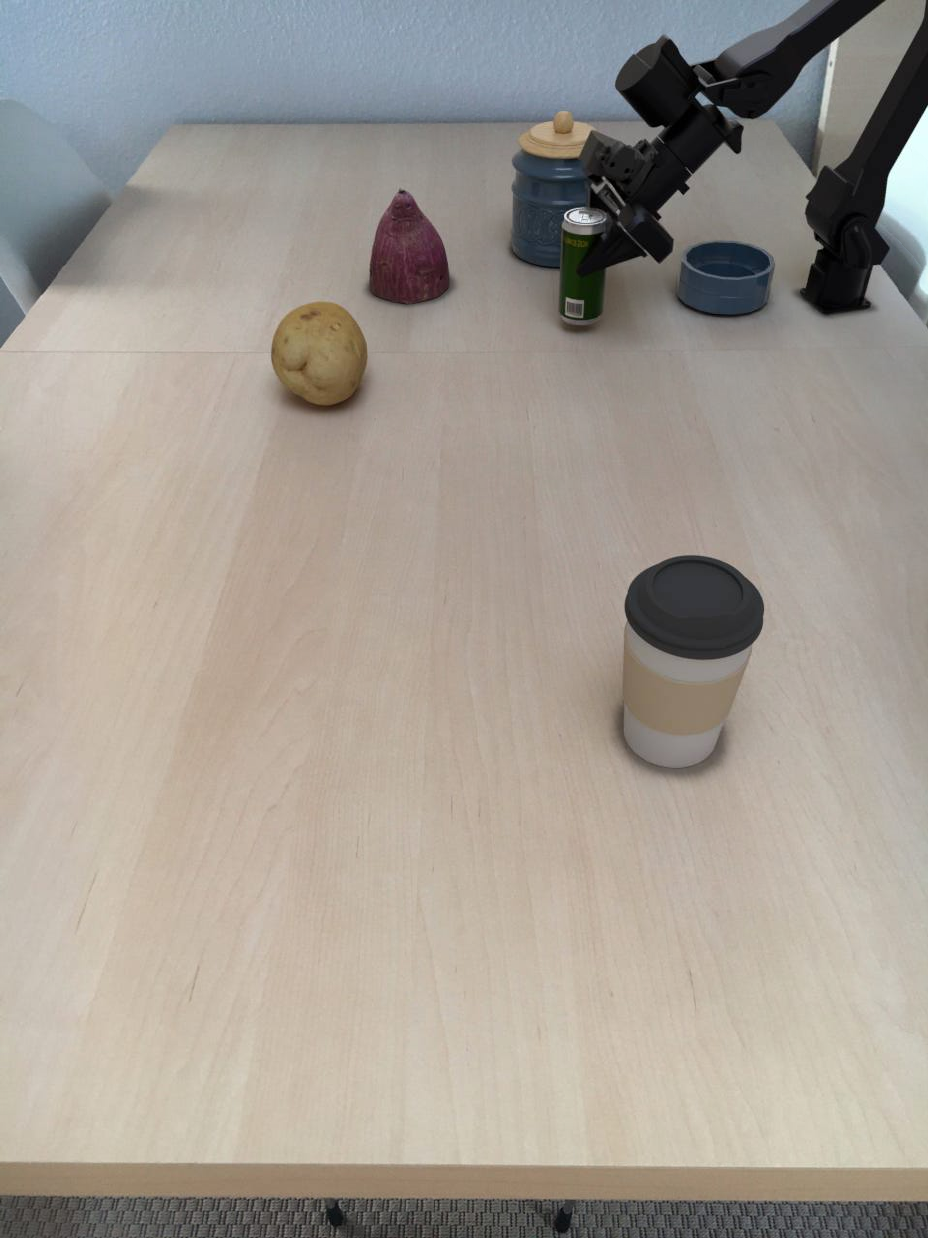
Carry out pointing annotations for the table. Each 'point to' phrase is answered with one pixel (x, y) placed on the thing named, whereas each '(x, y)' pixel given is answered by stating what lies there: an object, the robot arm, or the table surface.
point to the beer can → (578, 237)
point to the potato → (319, 353)
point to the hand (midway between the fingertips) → (571, 263)
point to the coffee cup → (685, 655)
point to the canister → (547, 187)
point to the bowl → (725, 277)
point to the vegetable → (407, 255)
